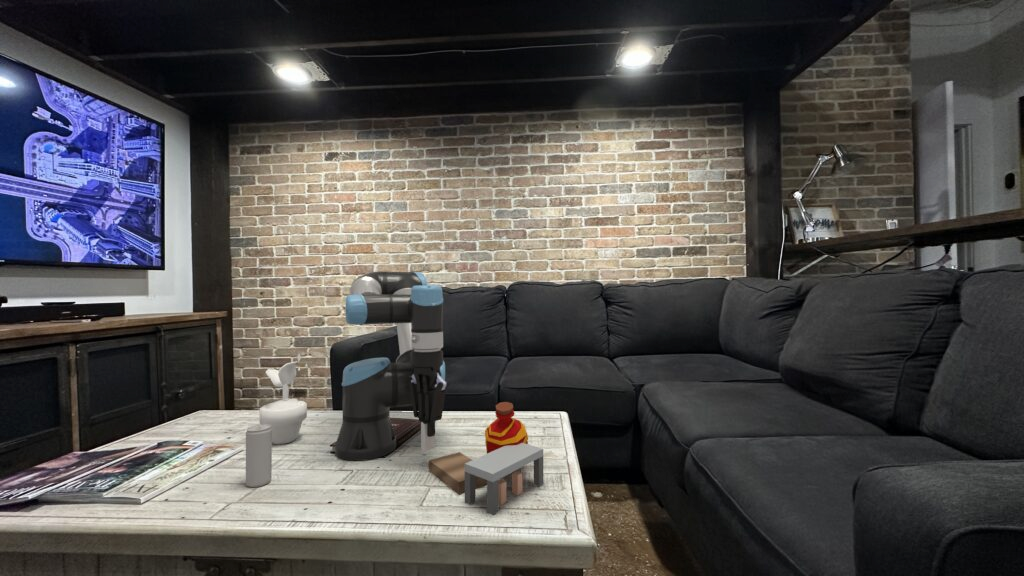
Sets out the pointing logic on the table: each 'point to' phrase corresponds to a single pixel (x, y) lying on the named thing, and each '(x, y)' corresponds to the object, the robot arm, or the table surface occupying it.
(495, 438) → the potion bottle
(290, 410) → the potted plant
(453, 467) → the panel
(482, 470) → the shelf
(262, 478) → the beverage can
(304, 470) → the table surface
